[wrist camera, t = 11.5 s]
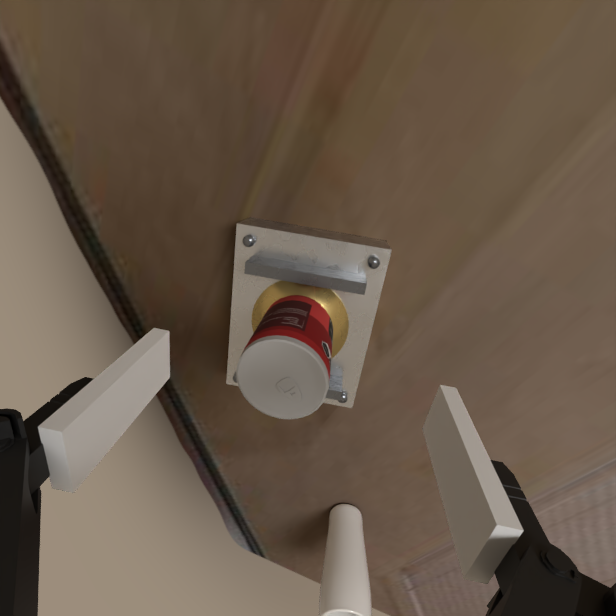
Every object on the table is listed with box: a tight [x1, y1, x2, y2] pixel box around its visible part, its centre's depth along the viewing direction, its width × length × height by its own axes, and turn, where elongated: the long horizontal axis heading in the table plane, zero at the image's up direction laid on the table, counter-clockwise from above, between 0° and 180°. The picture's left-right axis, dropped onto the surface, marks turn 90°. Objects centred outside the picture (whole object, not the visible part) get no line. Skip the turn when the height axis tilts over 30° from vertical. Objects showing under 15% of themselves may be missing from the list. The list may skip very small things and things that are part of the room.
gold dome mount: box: [226, 217, 392, 408], centre depth 39 cm, size 20×16×8 cm
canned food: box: [236, 295, 333, 419], centre depth 32 cm, size 8×8×11 cm
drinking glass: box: [319, 504, 372, 616], centre depth 48 cm, size 7×7×15 cm
